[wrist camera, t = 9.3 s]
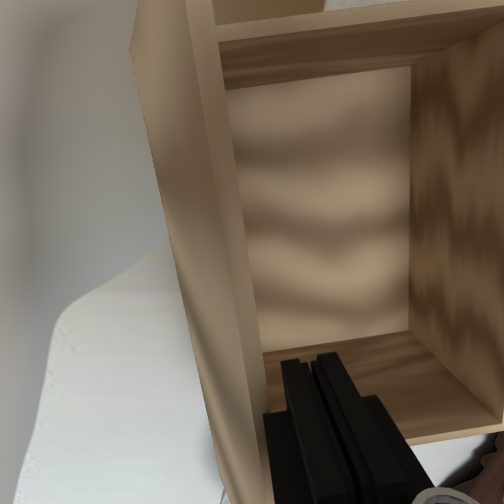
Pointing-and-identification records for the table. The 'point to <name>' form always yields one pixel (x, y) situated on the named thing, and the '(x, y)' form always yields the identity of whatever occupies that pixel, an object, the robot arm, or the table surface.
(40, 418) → the table surface
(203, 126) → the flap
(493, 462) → the potted plant
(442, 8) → the carton
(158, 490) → the table surface
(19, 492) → the table surface
